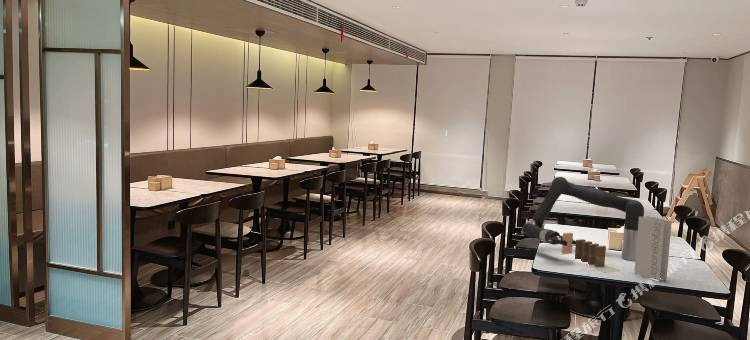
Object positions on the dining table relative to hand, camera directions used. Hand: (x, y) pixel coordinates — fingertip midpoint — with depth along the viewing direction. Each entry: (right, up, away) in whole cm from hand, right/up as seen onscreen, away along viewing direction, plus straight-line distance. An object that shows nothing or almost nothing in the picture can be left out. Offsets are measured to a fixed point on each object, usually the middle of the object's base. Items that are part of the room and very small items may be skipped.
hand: (570, 243), depth 300 cm
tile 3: (+11, -11, +9) cm, 18 cm away
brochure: (+34, -15, -16) cm, 41 cm away
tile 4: (+13, -12, +5) cm, 18 cm away
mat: (+12, -12, +7) cm, 19 cm away
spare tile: (-1, -6, +3) cm, 7 cm away
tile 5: (+15, -12, 0) cm, 19 cm away
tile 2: (+9, -11, +14) cm, 20 cm away
